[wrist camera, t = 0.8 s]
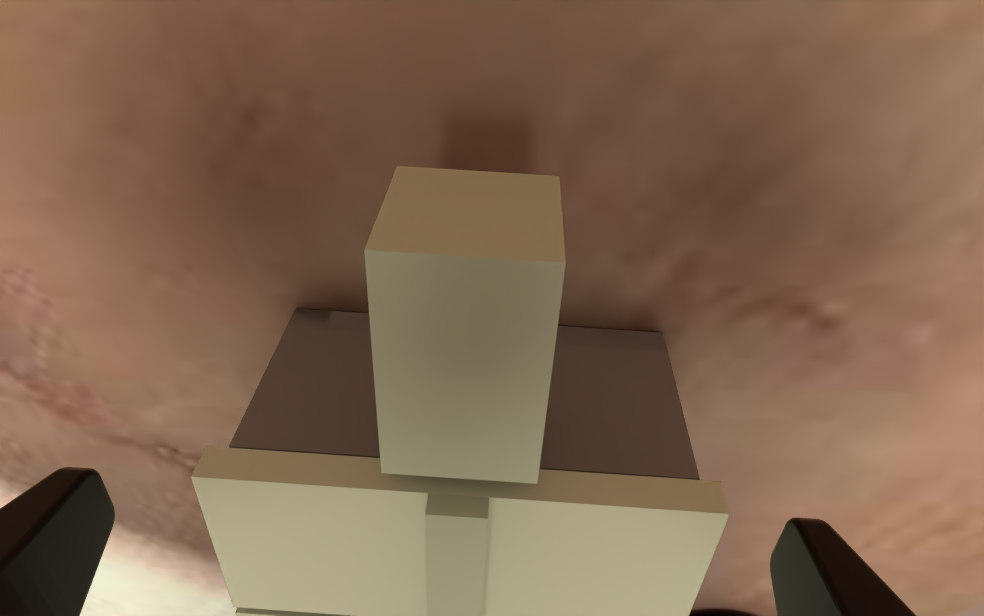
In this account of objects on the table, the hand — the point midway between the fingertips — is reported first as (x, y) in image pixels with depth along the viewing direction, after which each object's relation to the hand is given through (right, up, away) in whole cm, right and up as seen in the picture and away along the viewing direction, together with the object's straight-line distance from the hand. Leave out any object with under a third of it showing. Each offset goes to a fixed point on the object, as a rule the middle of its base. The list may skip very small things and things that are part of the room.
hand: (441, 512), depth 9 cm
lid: (0, -3, +9) cm, 10 cm away
